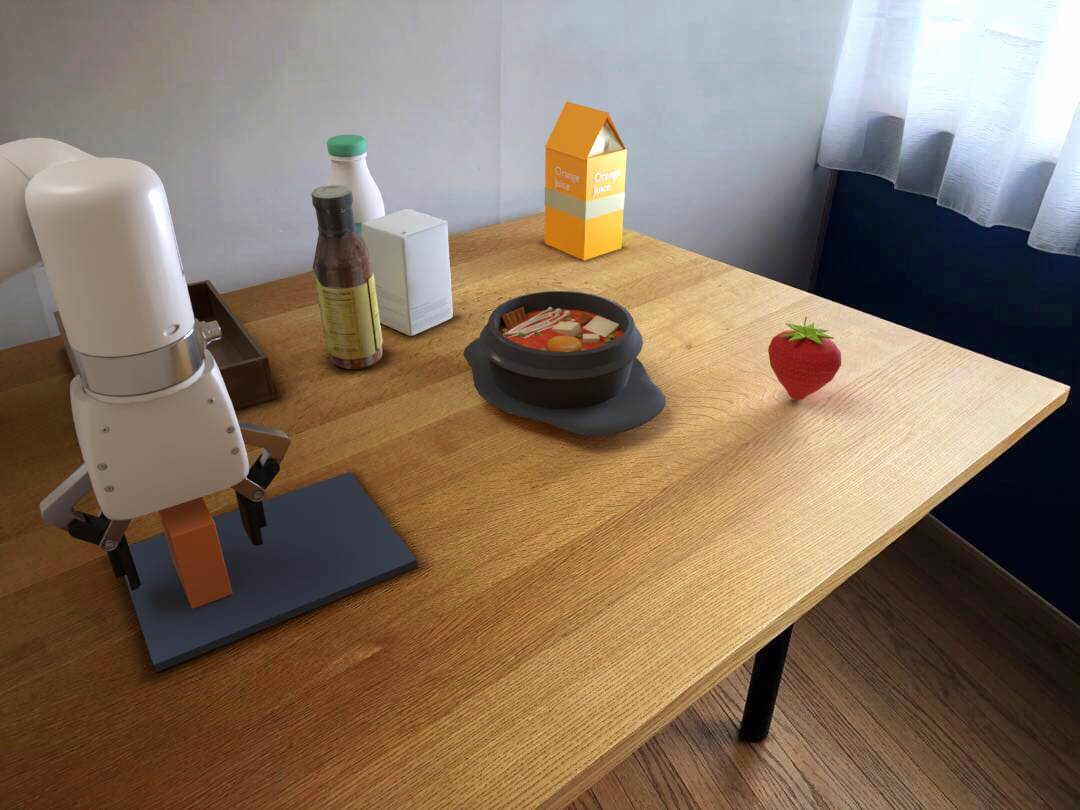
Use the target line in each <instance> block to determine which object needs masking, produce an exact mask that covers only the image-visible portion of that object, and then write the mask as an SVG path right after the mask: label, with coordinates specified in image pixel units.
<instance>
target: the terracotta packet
mask: <svg viewBox="0 0 1080 810" xmlns="http://www.w3.org/2000/svg"><path fill="white" fill-rule="evenodd" d="M157 512H158V515H159V519H160V522H161V525H162V528H163V531H164V534H165V536H166V539H167V542H168V546H169V549H170V553H171V556H172V559H173V563H174V565H175V568H176V570H177V573H178V575H179V578H180V580H181V583H182V585H183V588H184V591H185V593H186V596H187V598H188V601H189V603H190V606H191V608H192V609H194V608H197V607H200V606H202V605H205V604H207V603H210V602H213V601H215V600H218V599H221V598H223V597H226V596H229V595H231V594H232V590H231V586H230V582H229V578H228V574H227V570H226V566H225V562H224V558H223V554H222V550H221V546H220V542H219V538H218V534H217V530H216V526H215V523H214V520H213V517H212V515H211V512H210V511H209V508H208V506H207V504H206V502H205V500H204V497H200V498H197V499H194V500H190V501H187V502H184V503H181V504H178V505H175V506H172V507H169V508H165V509H162V510H159V511H157Z"/></svg>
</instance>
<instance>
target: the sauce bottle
mask: <svg viewBox="0 0 1080 810" xmlns="http://www.w3.org/2000/svg"><path fill="white" fill-rule="evenodd" d="M311 201H312V206H313V207H314V209H315V213H316V220H317V225H318V226H317V231H318V236H317V241H316V248H315V252H314V257H313V262H312V271H313V276H314V277H313V278H314V283H315V289H316V295H317V301H318V306H319V311H320V317H321V324H322V328H323V335H324V341H325V345H326V346H325V347H326V350H327V352H328V357H329V358H330V360H331V363H333V364H334V365H335V366H336V367H338V368H341V369H346V370H362V369H364V368H367V367H370V366H372V365H375V364H377V363H378V362H379V361H380V360H381V359H382V357H383V341H384V340H383V333H382V327H381V323H380V318H379V311H378V304H377V296H376V288H375V281H374V273H373V270H372V266H371V258H370V252H369V249H368V247H367V245H366V244H365V242H364V240H363V239H362V238H361V237H360V236H359V235H358V233H357V232H356V225H355V222H354V217H353V211H352V203H353V195H352V191H351V189H350V188H349V187H348V186H345V185H322V186H318V187H316V188H314V189H313V190H312V192H311Z"/></svg>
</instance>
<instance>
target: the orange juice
mask: <svg viewBox="0 0 1080 810" xmlns="http://www.w3.org/2000/svg"><path fill="white" fill-rule="evenodd" d="M609 113H610V112H607V111H604V110H601V109H596V108H593V107H589V106H585V105H582V104H577V103H574V102H570V101H565V104H564V106H563V108H562V110H561V112H560V114H559V116H558V118H557V120H556V123H555V125H554V127H553V129H552V131H551V133H550V135H549V136H548V139H547V141H546V143H545V146H544V147H545V155H544V156H545V161H544V163H545V166H544V171H545V172H544V173H545V175H544V177H545V178H544V181H545V182H544V244H545V245H547V246H550V247H552V248H553V249H554V248H555V249H557V250H559V251H561V252H563V253H566V254H568V255H571V256H573V257H574V258H577V259H580V260H582V261H586V260H589V259H593V258H596V257H599V256H602V255H605V254H608V253H610V252H613V251H617V250H620V249H622V240H623V224H624V209H625V197H626V189H625V188H626V187H625V186H626V172H627V152H628V149H627V148H626V147H625V145H624V142H623V140H622V138H621V137H620V135H619V132H618V131H617V129H616V126H615V124H614V122H613V120H612V118H611V116H610V115H609Z"/></svg>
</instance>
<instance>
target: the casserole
mask: <svg viewBox="0 0 1080 810" xmlns="http://www.w3.org/2000/svg"><path fill="white" fill-rule="evenodd" d="M486 323H487V324H485V325H484V326H483V328H482V330H481V331H480V333H479V337H478V338H476V339H473V340H472V341H471V342H470V343H469V344H468V345H466V346H465V347H464V351H463V353H462V355H463V357H464V359H465V360H466V362H467V363H468V365H469V367H470V369H471V375H472V381H473V387H474V388H475V390H476V391H477V393H478V395H479V396H481V398H483V399H484V400H485V401H486V402H487V403H488V404H490V405H492V406H493V407H495V408H497V409H499V410H501V411H503V412H504V413H505V412H506V413H507V414H510V415H513V416H516V417H520V418H525V419H529V420H531V421H532V420H533V421H537V422H541V423H545V424H548V425H551V426H554V427H556V428H559V429H562V430H563V431H566V432H569V433H573V434H575V435H579V436H586V437H602V436H611V435H616V434H620V433H625V432H628V431H630V430H634V429H636V428H639V427H642V426H644V425H645V424H647V423H649V422H650V421H652V420H654V419H655V418H657V416H659V414H662V412H663V411H664V409H665V407H666V405H667V397H666V395H665V394H664V393H663V391H662V390H661V389H660V387H658V386H657V385H656V384H655V382H653V381H652V380H651V378H650V377H651V376H650V375H649V374H648V371H647V370H646V367H645V366H644V364H643V362H642V361H640V359H639V358H637V357H638V356H639V354H640V353H641V352H642V349H643V346H644V341H643V340H644V339H643V335H642V334H641V332H640V330H639V328H638V327H636V323H635V320H634V318H633V316H632V314H631V313H630V312H629V311H628V310H627V309H626V308H625V307H624V306H622V305H621V304H619V303H617V302H616V301H614V300H611V299H609V298H607V297H603V296H599V295H597V294H592V293H587V292H580V291H572V290H546V291H538V292H532V293H526V294H523V295H519V296H516V297H513V298H511V299H508V300H506V301H504V302H503V303H501V304H499V305H498V306H497V307H495V308H494V309H493V310H492V312H491V314H490V315H489V317H488V320H487V322H486Z"/></svg>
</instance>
